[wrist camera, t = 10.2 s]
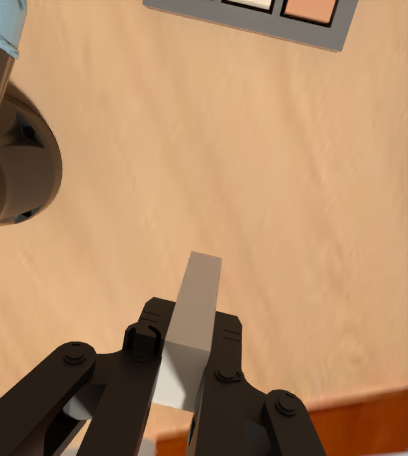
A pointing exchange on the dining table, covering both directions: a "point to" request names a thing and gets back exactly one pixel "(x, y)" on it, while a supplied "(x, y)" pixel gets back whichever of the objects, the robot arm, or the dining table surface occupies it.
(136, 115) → the dining table surface
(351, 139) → the dining table surface
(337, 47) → the keyguard
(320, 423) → the dining table surface
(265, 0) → the cream key
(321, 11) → the peach key
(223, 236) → the dining table surface
